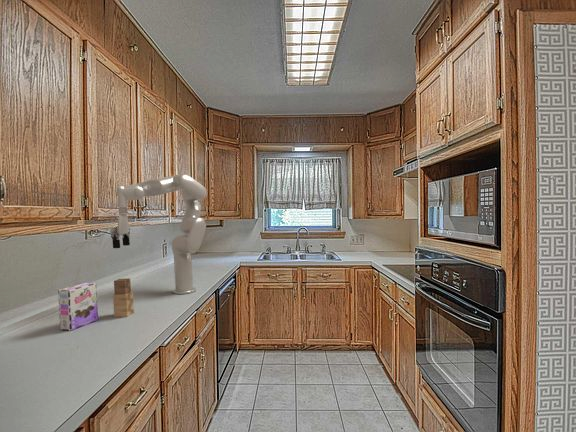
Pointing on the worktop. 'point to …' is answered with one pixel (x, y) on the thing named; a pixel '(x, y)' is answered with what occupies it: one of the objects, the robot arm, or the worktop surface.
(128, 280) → the walnut cube
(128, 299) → the tower top
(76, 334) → the worktop surface
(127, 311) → the tower base
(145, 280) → the worktop surface
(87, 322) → the candy box
